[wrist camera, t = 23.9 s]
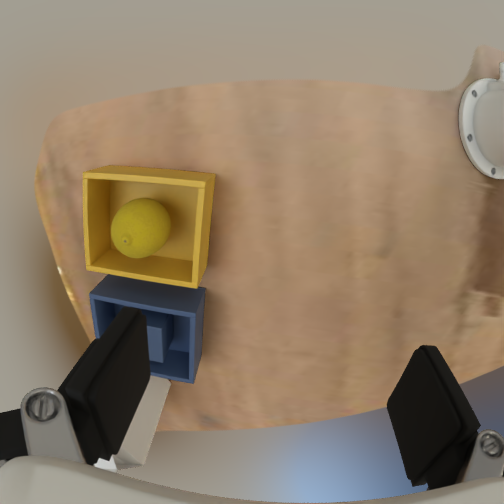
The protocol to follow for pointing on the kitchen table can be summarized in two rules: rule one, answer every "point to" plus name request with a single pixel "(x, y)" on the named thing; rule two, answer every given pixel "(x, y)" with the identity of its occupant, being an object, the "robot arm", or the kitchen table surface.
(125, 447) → the milk carton
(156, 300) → the blue bin
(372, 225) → the kitchen table surface
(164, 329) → the blue block
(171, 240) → the yellow bin
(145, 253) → the lemon
